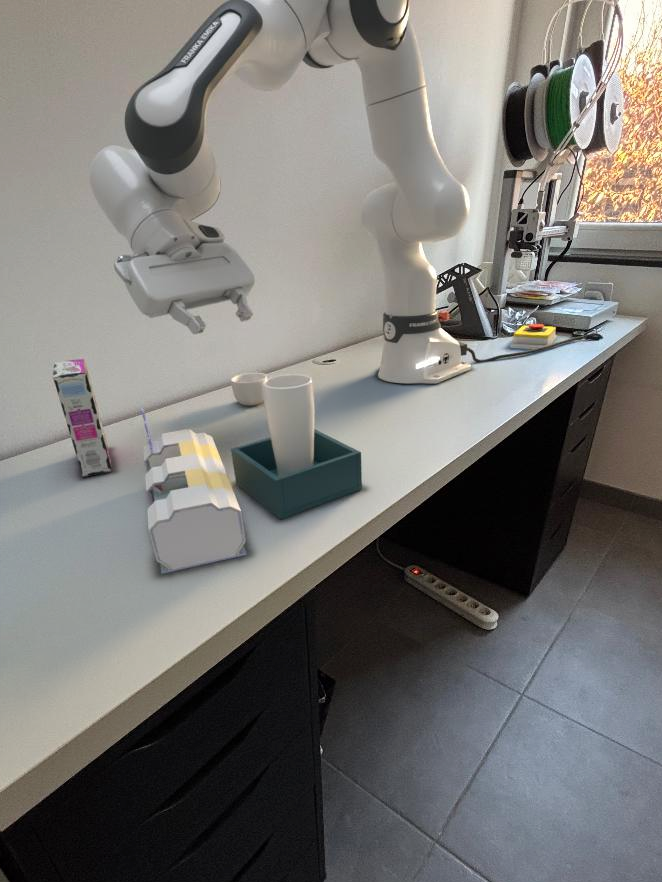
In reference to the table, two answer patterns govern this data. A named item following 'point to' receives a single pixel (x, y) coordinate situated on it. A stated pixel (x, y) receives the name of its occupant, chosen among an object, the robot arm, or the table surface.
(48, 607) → the table surface
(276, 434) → the drinking glass
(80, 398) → the candy bar box
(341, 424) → the table surface
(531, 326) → the emergency button
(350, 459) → the bin
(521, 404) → the table surface
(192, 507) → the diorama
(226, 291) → the robot arm
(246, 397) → the teacup
